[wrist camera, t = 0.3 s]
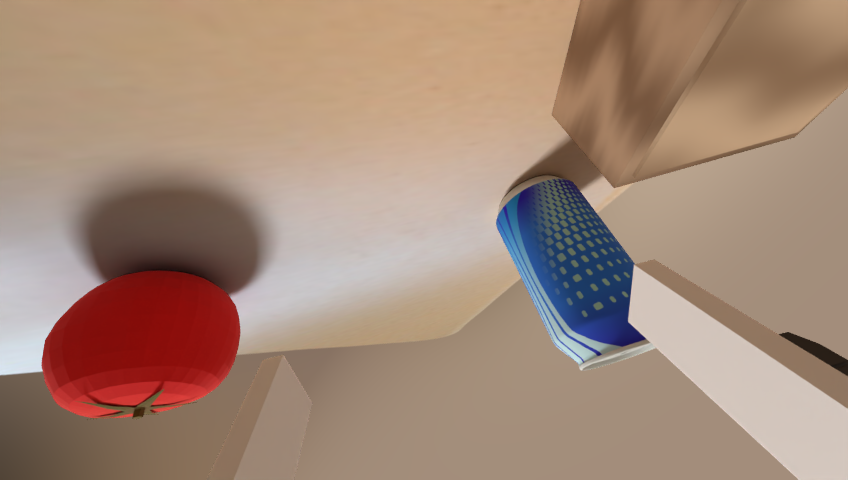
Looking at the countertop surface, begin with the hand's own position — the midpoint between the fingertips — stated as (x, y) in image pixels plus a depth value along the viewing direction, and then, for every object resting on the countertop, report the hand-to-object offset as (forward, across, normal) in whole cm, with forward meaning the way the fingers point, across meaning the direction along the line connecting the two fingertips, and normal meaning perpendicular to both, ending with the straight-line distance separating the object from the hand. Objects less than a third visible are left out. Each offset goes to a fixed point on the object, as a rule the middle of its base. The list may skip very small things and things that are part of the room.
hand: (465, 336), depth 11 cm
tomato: (+18, -25, -3) cm, 31 cm away
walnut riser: (+12, +17, +10) cm, 23 cm away
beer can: (+20, +11, -4) cm, 24 cm away
